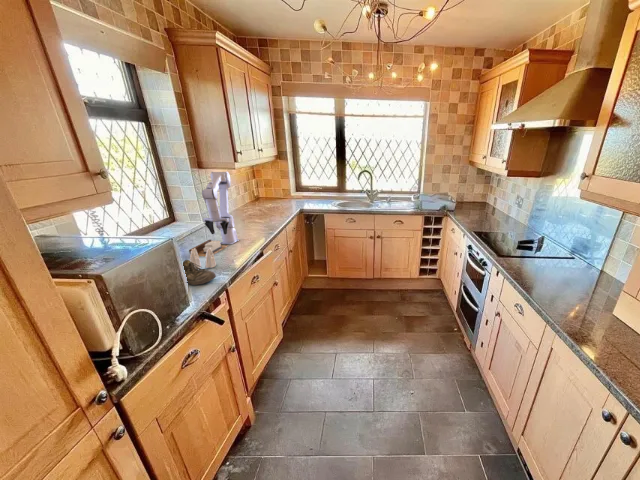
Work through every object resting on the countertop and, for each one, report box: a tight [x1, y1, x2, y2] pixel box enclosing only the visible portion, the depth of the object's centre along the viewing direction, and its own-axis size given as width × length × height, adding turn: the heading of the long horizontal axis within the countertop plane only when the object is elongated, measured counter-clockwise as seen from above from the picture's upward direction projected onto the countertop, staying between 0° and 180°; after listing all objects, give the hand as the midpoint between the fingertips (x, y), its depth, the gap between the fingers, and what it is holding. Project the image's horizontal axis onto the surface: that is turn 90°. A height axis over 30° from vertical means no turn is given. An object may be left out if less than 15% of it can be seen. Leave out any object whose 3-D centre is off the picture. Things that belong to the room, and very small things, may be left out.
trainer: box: [203, 240, 222, 253], centre depth 182 cm, size 11×5×5 cm, turn 176°
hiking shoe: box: [182, 259, 217, 286], centre depth 142 cm, size 9×21×12 cm
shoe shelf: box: [188, 239, 230, 257], centre depth 183 cm, size 20×12×4 cm, turn 176°
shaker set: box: [189, 247, 217, 270], centre depth 155 cm, size 12×4×11 cm, turn 125°
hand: (219, 233), depth 182 cm, fingers open, 7 cm apart
